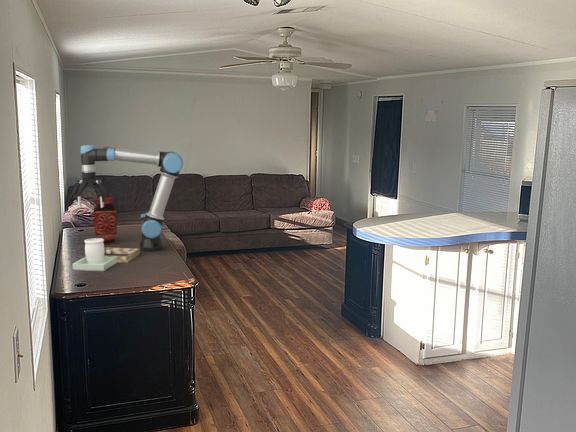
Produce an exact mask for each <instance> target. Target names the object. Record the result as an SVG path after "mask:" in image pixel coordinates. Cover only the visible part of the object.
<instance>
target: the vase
mask: <svg viewBox="0 0 576 432" xmlns="http://www.w3.org/2000/svg"><path fill="white" fill-rule="evenodd" d="M100 197H101V196H99V197H95V199H94V202H95V203H96V205H95V207H94V208H93V220H94V221H93V223H94V234H95V236H96V238H102V239H104V242H103V243H104V246H105V245H115V244H116V240H115V238H116V235H117V234H118V227H117V226H118V225H117V224H118V223H117V219H118V218H117V210H116V207H115V206H114V204H113V203H112V202H114V198H113V196H107V197H106V196H105V202H104V207H102V208H101V202H100Z"/></svg>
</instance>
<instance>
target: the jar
mask: <svg viewBox="0 0 576 432" xmlns="http://www.w3.org/2000/svg"><path fill="white" fill-rule="evenodd" d="M83 242H84V244H85V245H84V255H85V257H86V259H87V261H88V263H89V264H100V265H103V260H104V256H105V255H104V253H105V248H106V247H105V245H104V243H103V242H104V239H102V238H98V237H94V238H93V237H92V238H87V239H84V241H83Z"/></svg>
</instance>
